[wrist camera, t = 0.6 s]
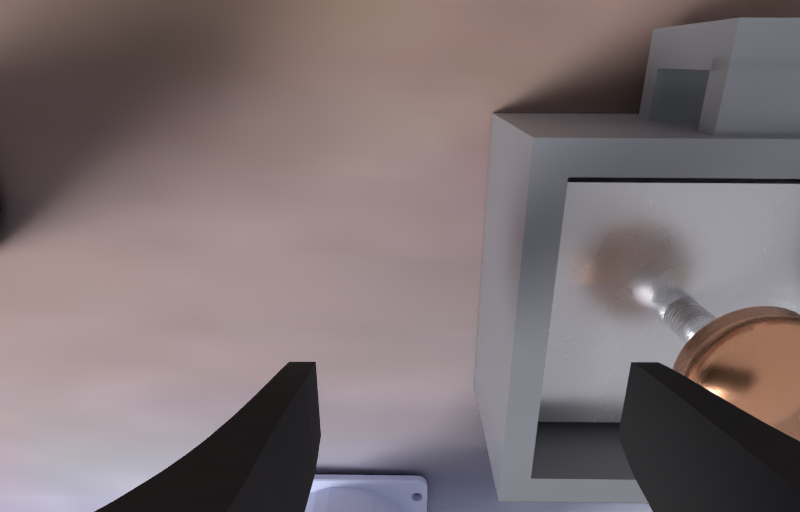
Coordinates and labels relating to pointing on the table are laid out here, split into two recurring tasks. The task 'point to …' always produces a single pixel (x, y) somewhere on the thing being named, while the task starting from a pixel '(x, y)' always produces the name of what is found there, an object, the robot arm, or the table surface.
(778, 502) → the robot arm
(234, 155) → the table surface
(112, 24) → the table surface
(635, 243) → the plunger
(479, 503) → the table surface
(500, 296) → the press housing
